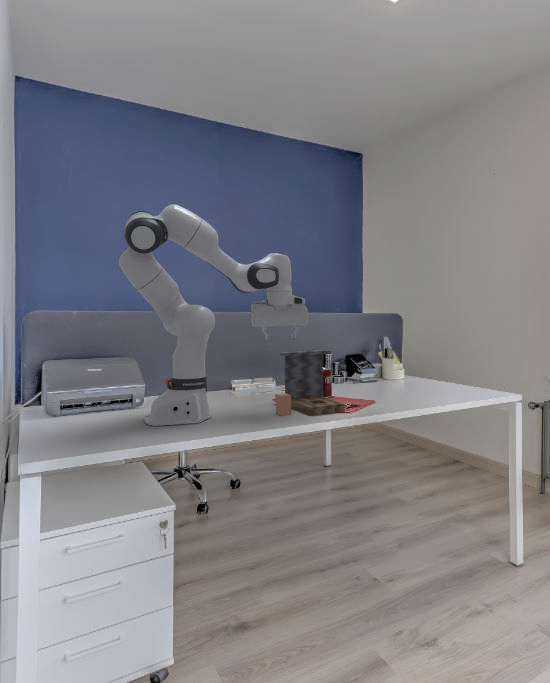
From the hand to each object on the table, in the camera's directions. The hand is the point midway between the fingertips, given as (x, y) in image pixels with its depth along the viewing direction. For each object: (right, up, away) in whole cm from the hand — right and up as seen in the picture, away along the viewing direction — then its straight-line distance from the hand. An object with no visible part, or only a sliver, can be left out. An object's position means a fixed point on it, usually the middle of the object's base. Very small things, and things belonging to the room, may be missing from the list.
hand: (280, 339), depth 164 cm
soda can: (+18, -24, +32) cm, 44 cm away
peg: (+1, -27, 0) cm, 27 cm away
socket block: (+13, -26, +8) cm, 30 cm away
